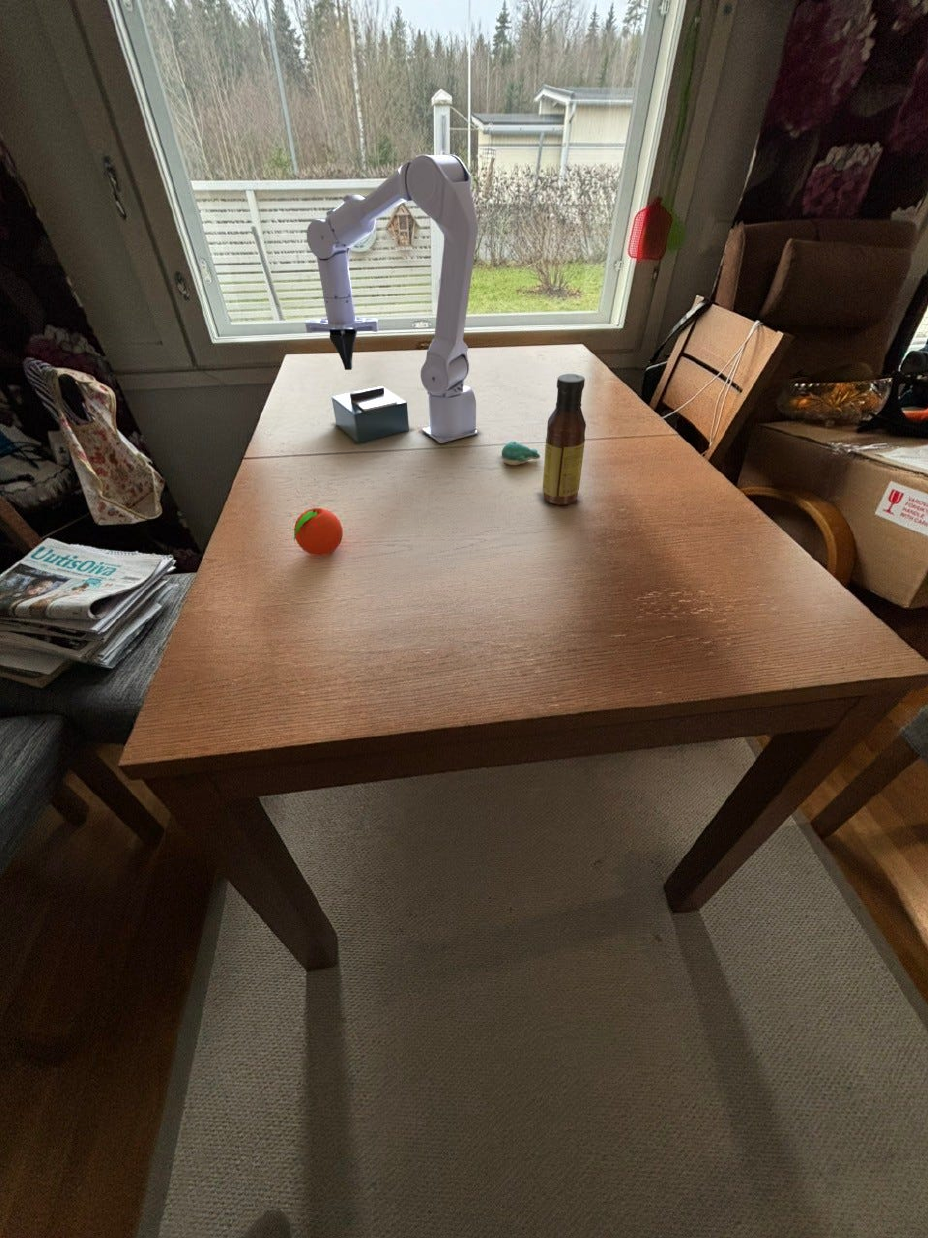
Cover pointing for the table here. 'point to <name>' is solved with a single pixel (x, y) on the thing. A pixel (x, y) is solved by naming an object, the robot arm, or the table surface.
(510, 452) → the whale figurine
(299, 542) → the clementine
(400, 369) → the table surface
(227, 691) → the table surface
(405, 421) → the sliding lid box
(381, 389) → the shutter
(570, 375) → the sauce bottle
